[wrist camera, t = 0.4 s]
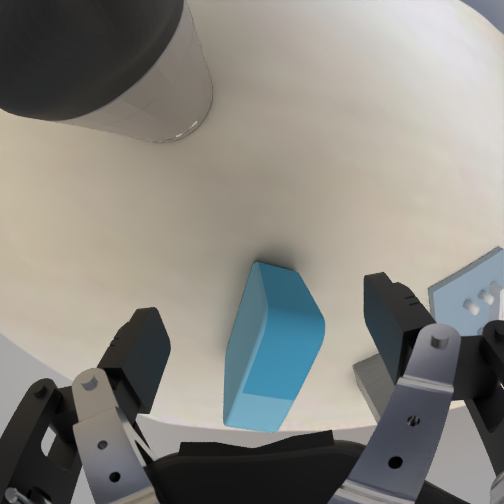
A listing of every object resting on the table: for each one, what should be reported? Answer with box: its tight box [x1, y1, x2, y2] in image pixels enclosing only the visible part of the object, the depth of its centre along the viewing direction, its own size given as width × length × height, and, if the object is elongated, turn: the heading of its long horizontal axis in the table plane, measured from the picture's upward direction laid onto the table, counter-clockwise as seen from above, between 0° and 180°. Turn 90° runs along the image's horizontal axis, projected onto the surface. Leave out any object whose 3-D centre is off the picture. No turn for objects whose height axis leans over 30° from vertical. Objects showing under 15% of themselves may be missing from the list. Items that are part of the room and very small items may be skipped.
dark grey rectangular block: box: [353, 353, 396, 424], centre depth 29 cm, size 4×6×12 cm, turn 112°
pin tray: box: [428, 247, 504, 336], centre depth 32 cm, size 16×14×4 cm
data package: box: [223, 262, 325, 433], centre depth 26 cm, size 12×4×12 cm, turn 164°
